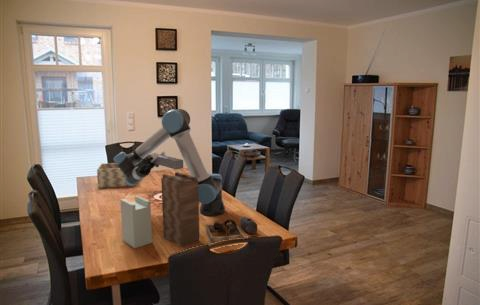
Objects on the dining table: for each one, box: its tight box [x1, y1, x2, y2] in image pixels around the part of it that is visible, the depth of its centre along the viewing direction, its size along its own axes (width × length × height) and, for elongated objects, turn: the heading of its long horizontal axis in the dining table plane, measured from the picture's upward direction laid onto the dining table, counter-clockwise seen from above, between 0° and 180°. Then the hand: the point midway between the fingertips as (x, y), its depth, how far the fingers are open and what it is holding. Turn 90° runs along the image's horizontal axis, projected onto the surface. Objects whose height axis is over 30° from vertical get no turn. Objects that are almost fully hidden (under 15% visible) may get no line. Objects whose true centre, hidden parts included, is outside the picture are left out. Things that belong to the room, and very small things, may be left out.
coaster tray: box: [205, 222, 244, 244], centre depth 175 cm, size 16×17×3 cm
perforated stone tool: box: [239, 216, 258, 234], centre depth 181 cm, size 15×5×7 cm, turn 23°
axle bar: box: [147, 152, 184, 171], centre depth 174 cm, size 26×4×4 cm, turn 44°
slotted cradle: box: [119, 195, 153, 249], centre depth 166 cm, size 12×9×20 cm
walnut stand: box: [160, 171, 201, 248], centre depth 168 cm, size 16×10×32 cm, turn 43°
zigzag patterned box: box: [96, 162, 130, 189], centre depth 277 cm, size 26×23×14 cm
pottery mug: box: [212, 218, 238, 236], centre depth 177 cm, size 12×10×8 cm
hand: (160, 154), depth 176 cm, fingers closed on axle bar, 4 cm apart
